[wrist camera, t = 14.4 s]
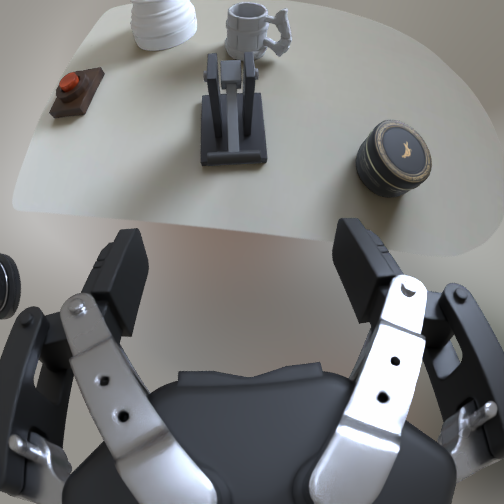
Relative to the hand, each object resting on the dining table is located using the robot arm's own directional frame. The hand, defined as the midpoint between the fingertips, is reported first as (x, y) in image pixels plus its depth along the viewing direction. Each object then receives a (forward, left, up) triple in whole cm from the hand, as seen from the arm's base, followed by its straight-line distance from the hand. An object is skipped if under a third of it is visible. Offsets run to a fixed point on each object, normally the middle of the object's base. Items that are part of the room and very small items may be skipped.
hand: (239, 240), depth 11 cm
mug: (+22, +32, -25) cm, 46 cm away
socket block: (-10, +44, -25) cm, 51 cm away
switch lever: (+8, +15, -15) cm, 23 cm away
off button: (-10, +44, -21) cm, 50 cm away
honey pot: (+11, +49, -25) cm, 56 cm away
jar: (+26, +2, -25) cm, 36 cm away
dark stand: (+10, +19, -25) cm, 33 cm away
